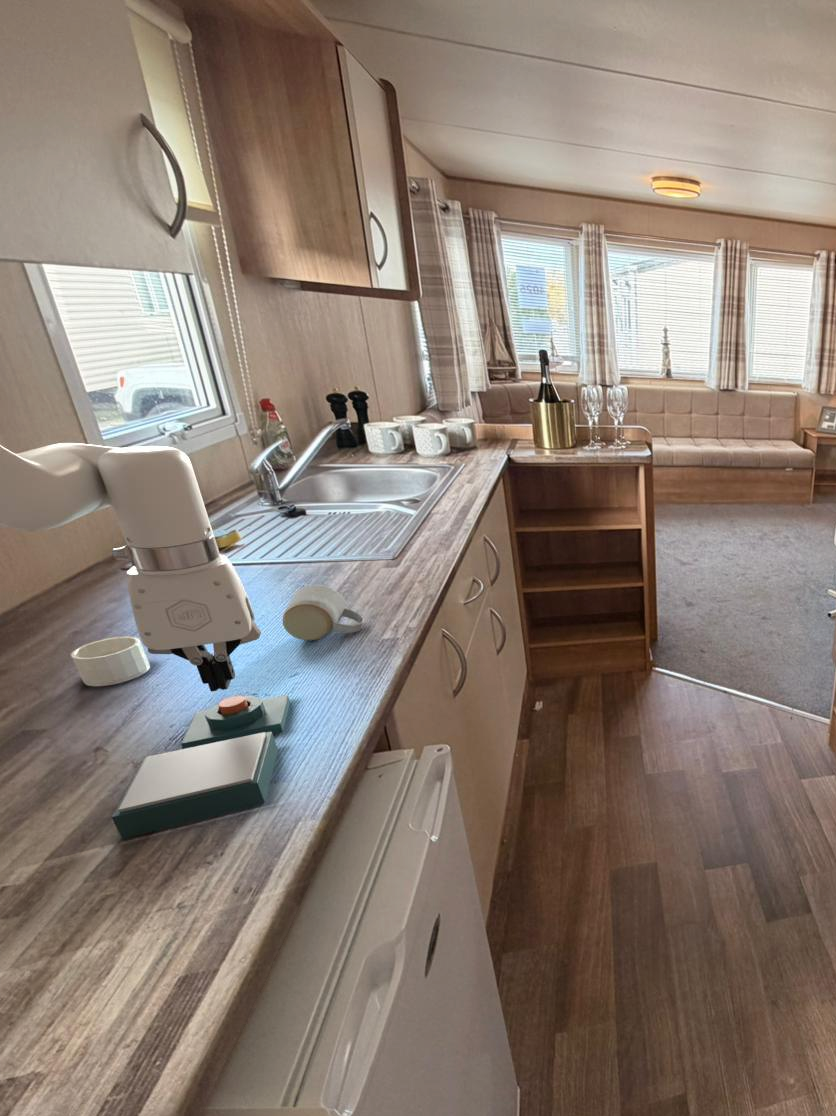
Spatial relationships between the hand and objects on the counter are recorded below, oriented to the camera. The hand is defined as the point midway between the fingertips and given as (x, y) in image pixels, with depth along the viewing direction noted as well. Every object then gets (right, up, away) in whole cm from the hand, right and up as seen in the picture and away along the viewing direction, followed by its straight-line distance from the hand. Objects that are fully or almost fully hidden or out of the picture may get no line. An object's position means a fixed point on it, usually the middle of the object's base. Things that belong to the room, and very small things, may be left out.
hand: (221, 685), depth 83 cm
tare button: (0, -4, +2) cm, 4 cm away
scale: (+6, -11, -9) cm, 16 cm away
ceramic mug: (-7, +5, +29) cm, 30 cm away
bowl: (-28, 0, +13) cm, 30 cm away
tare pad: (0, -6, +3) cm, 7 cm away
